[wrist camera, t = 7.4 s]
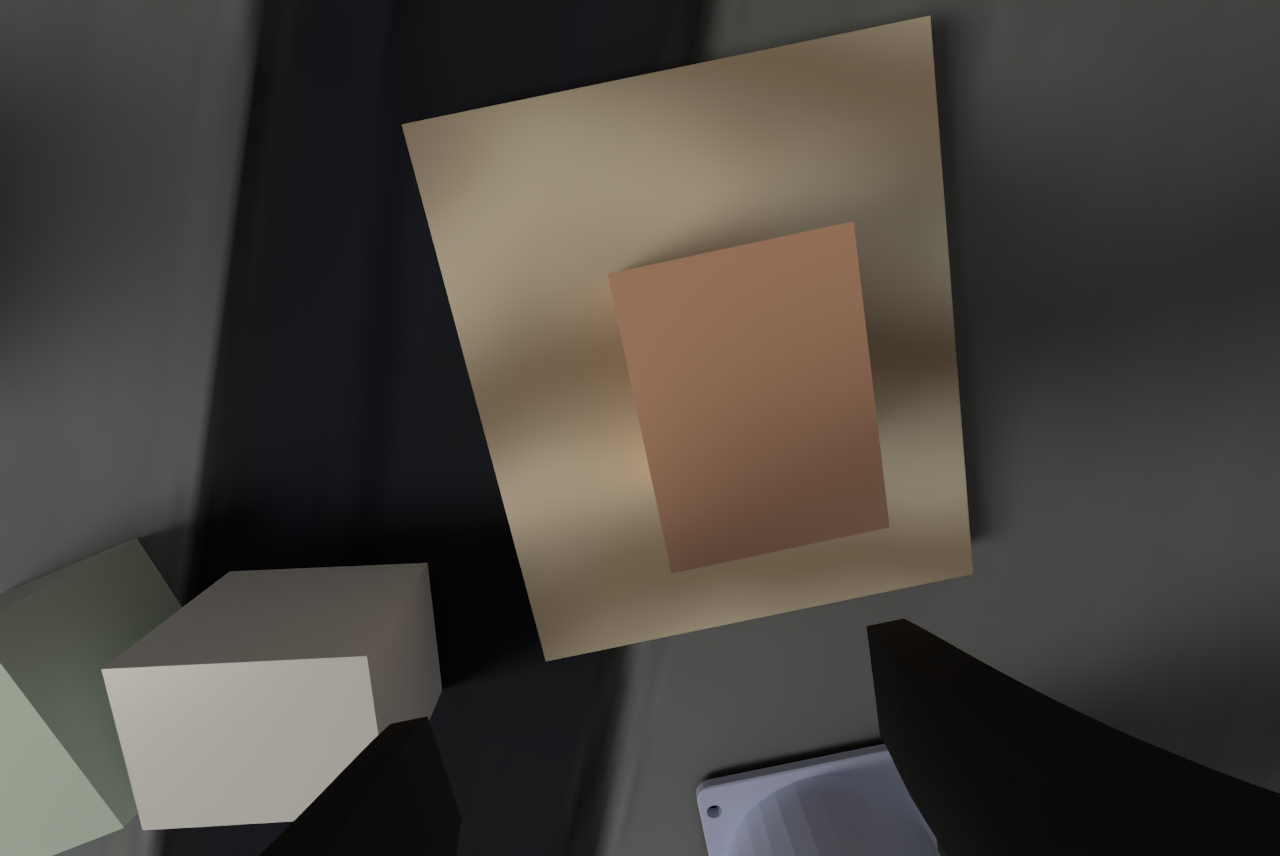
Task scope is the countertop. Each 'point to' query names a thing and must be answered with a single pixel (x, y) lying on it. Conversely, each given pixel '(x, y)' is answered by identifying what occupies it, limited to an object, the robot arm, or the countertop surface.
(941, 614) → the countertop surface
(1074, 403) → the countertop surface
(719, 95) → the birch board
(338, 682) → the offwhite block
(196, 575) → the countertop surface
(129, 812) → the sage block
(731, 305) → the terracotta block
